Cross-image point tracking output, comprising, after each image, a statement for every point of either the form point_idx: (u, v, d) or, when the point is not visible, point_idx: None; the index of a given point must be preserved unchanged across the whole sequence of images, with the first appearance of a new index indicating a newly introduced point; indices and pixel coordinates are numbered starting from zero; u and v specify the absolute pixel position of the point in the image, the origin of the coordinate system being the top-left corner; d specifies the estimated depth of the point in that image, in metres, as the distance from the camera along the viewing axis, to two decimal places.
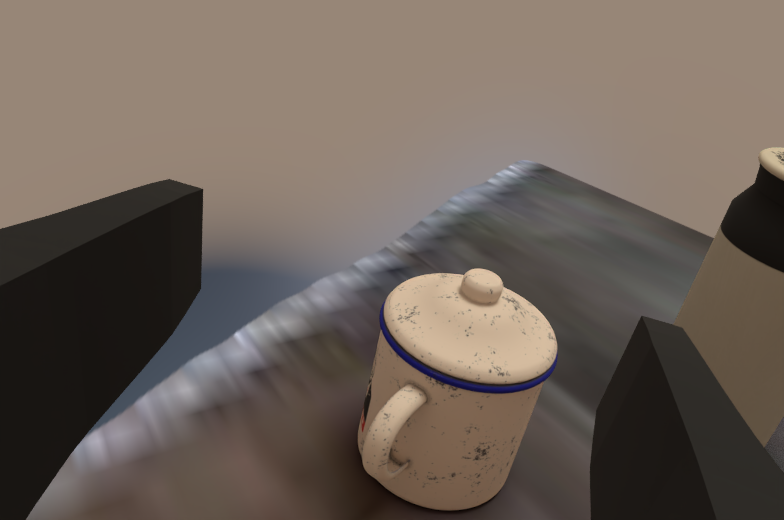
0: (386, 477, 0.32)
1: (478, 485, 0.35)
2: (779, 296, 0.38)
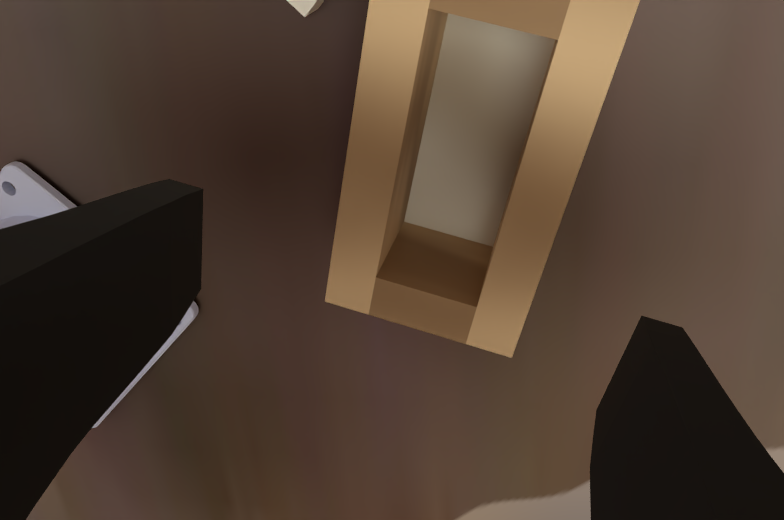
0: None
1: None
2: None
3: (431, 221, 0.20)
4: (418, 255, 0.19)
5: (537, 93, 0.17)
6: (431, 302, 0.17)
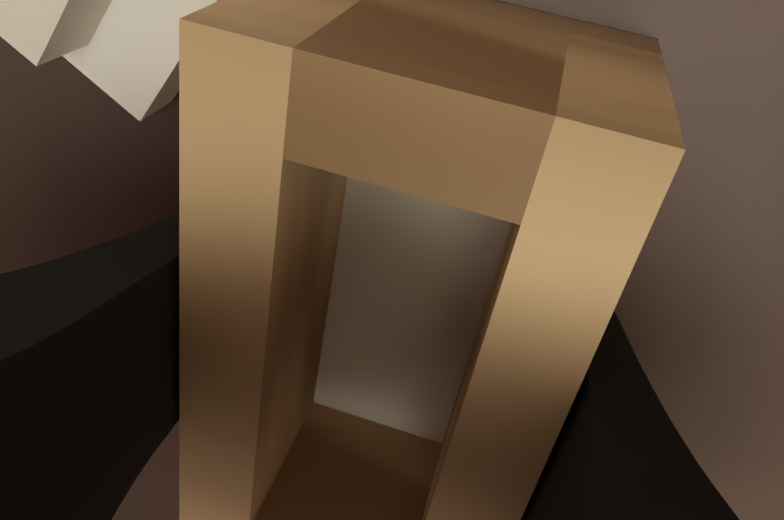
0: None
1: None
2: None
3: (352, 405, 0.13)
4: (325, 472, 0.12)
5: (500, 247, 0.11)
6: None
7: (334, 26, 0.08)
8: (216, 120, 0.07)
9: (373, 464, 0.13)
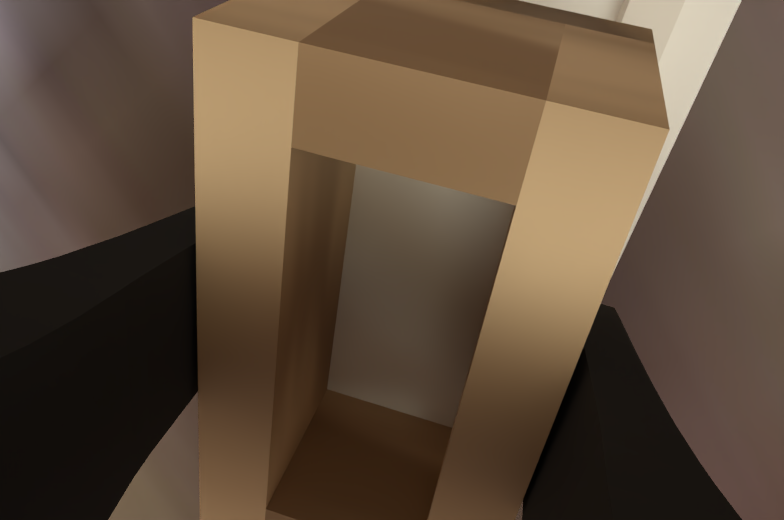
0: None
1: None
2: None
3: (365, 391, 0.14)
4: (338, 455, 0.13)
5: (504, 233, 0.11)
6: None
7: (337, 22, 0.08)
8: (228, 112, 0.08)
9: (385, 447, 0.13)
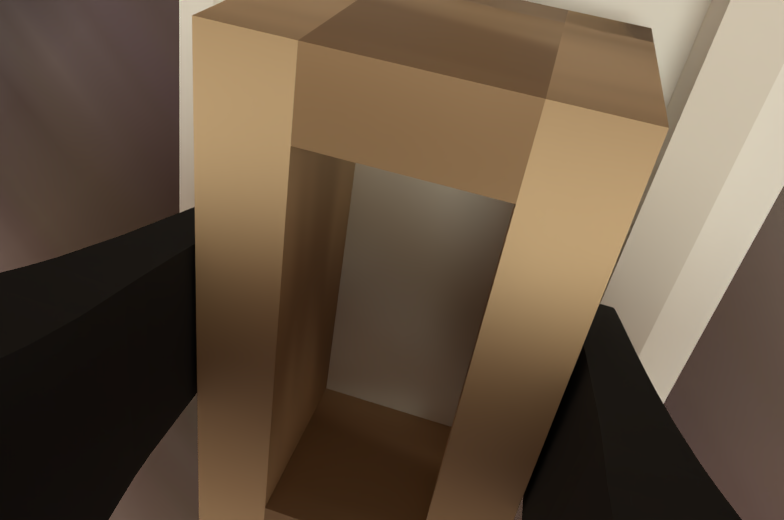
0: None
1: None
2: None
3: (364, 390, 0.14)
4: (338, 454, 0.13)
5: (503, 232, 0.11)
6: None
7: (337, 20, 0.08)
8: (228, 110, 0.08)
9: (384, 446, 0.13)
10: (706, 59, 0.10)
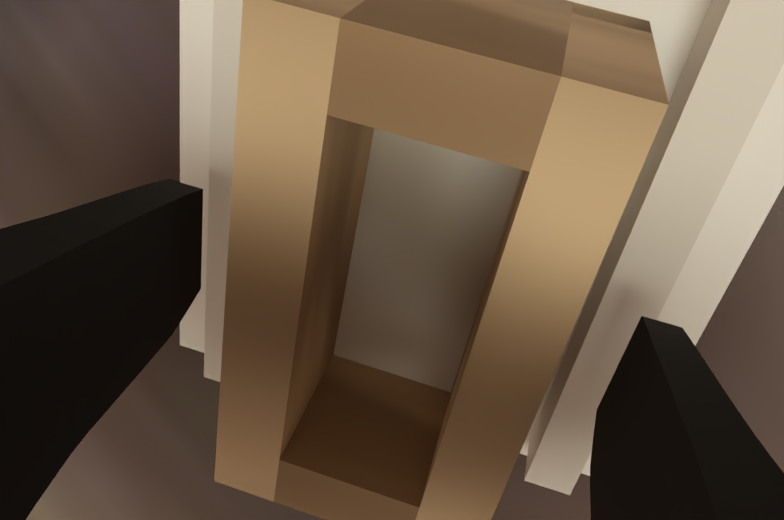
0: None
1: None
2: None
3: (369, 357, 0.15)
4: (346, 414, 0.14)
5: (508, 207, 0.12)
6: (356, 496, 0.12)
7: (371, 2, 0.09)
8: (270, 81, 0.09)
9: (389, 408, 0.14)
10: (706, 60, 0.10)
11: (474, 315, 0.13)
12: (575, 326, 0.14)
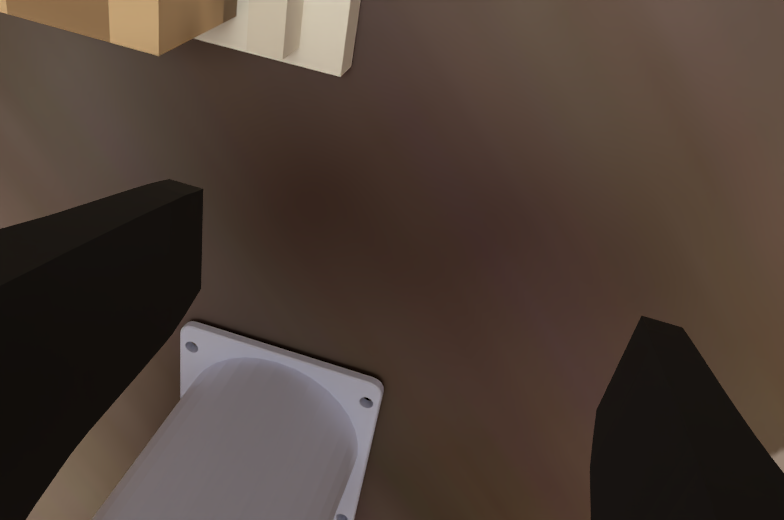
0: None
1: None
2: None
3: None
4: None
5: None
6: None
7: None
8: None
9: None
10: None
11: None
12: None
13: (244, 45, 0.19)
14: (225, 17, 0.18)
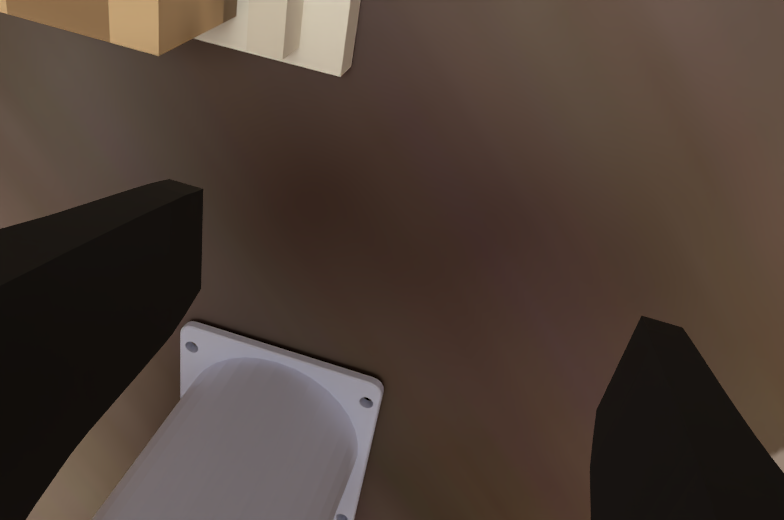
0: None
1: None
2: None
3: None
4: None
5: None
6: None
7: None
8: None
9: None
10: None
11: None
12: None
13: (244, 45, 0.19)
14: (225, 17, 0.18)
